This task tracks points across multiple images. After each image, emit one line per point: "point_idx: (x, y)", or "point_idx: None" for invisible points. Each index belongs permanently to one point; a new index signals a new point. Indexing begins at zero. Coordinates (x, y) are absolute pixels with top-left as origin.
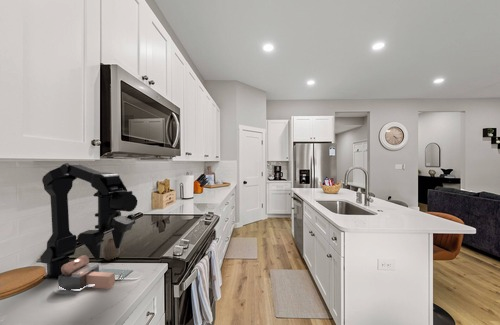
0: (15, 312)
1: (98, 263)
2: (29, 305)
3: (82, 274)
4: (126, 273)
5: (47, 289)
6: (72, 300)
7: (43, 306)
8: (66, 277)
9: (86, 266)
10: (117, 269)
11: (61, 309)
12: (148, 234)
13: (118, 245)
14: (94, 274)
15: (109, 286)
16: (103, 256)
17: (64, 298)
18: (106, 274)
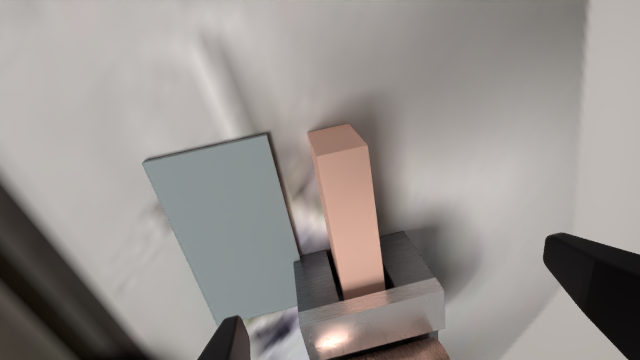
0: (535, 293)
1: (302, 326)
2: (501, 297)
3: (421, 287)
4: (194, 164)
5: None
6: (462, 195)
7: (504, 253)
8: (436, 332)
9: (356, 345)
10: (187, 254)
11: (518, 174)
12: None
13: (234, 347)
14: (368, 252)
15: (349, 126)
16: None
17: (454, 237)
18: (349, 188)
